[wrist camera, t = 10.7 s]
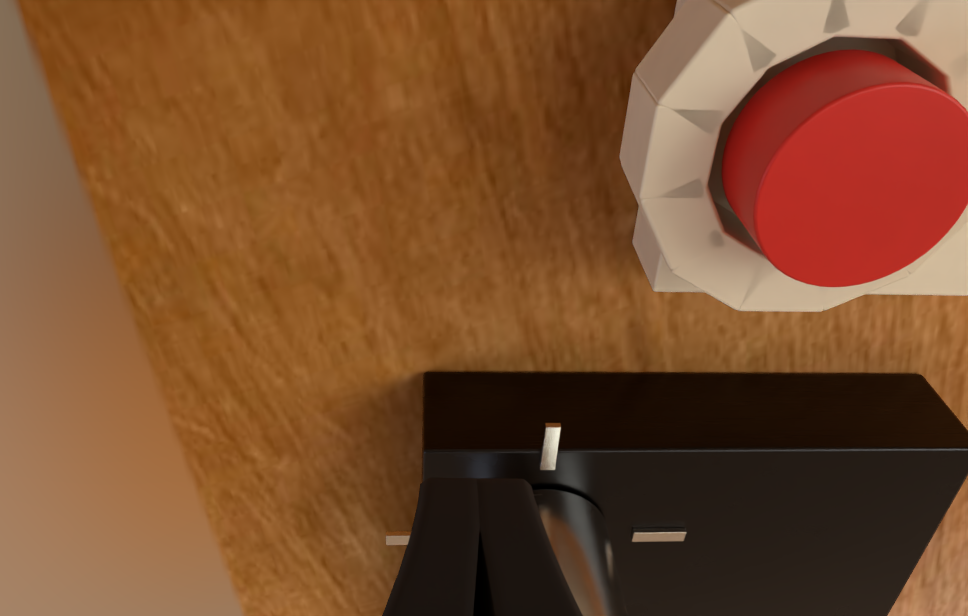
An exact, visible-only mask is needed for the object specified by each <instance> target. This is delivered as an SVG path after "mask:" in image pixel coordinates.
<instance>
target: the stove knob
mask: <svg viewBox="0 0 968 616" xmlns="http://www.w3.org/2000/svg"><path fill="white" fill-rule="evenodd" d="M532 491H533V494H534V498H535V501H536V504H537V507H538V510H539V513H540V516H541V519H542V522H543V525H544V528H545V530H546V533H547V535H548V538H549V541H550V543H551V546H552V548H553V551H554V553H555V555H556V558H557V560H558V562H559V565H560V567H561V570H562V572H563V574H564V577H565V579H566V581H567V583H568V585H569V588H570V590H571V592H572V594H573V596H574V598H575V600H576V602H577V605H578V607H579V609H580V611H581V613H582V615H583V616H628V613H627V609H626V605H625V601H624V596H623V592H622V588H621V584H620V580H619V575H618V571H617V567H616V563H615V559H614V554H613V550H612V546H611V542H610V538H609V534H608V529H607V525H606V522H605V519H604V517H603V515H602V514H601V512H600V511H599V510H598V508H597V507H596V506H595V505H593V504H592V503H591V502H590V501H588V500H587V499H585V498H583V497H581V496H579V495H577V494H574V493H571V492H567V491H563V490H556V489H534V490H532Z"/></svg>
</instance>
